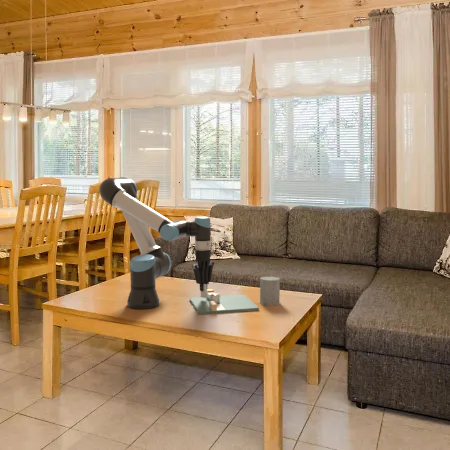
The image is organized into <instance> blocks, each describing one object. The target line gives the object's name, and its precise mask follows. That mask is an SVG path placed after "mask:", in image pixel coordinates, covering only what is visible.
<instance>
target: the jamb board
mask: <svg viewBox="0 0 450 450" xmlns="http://www.w3.org/2000/svg"><path fill="white" fill-rule="evenodd" d="M189 302H190V303H191V305H192V306H193V308H194V309H195V311H196V312H197V314H198V315H212V314H213V315H214V314H227V313H239V312H254V311H260V308H259V306H258V305H257V304H255V303H254V302H253V301H252V300H251V299H250V298H249V297H247V296H246V294H238V295H237V294H236V295H235V294H234V295H233V294H232V295H220V303H219V304H216V303H215V302H214V301H210V300H209V299H208V298H207V297H206V298H203V297H201V296H200V297H190V298H189Z"/></svg>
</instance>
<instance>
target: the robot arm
mask: <svg viewBox="0 0 450 450" xmlns="http://www.w3.org/2000/svg"><path fill="white" fill-rule="evenodd" d="M98 191H99V192H98V193H99V196H100V197H101V199H102V200H103V201H104V202H105V203H107V204H108V205H110V206H112V207H113V208H116V209H119V210H120V211H121V213H122V215H123V217H124V219H125V221H126V223H127V226H128V227H129V230H130V232H131V234H132V236H133V238H134V242H135V243H136V245H137V247H138V249H139V252H140V254H139V255H138V254H137V255H135V256H133V257H132V258H131V259H130V264H129V269H130V270H129V271H130V292H129V293H128V297H127V304H126V305H127V307H128V308H131V309H135V310H136V309H137V310H146V309H147V310H149V309H153V308H156V307H158V306H159V305H160V298H159V295H158V291H157V289H156V280H157V279H158V278H162V277H164V276H166V275H167V274H168V273H169V272H170V270H171V267H172V259H171V257H170V255H169V254H168V253H165V252H164V251H163V249H162V247H161V246H159V245H157V243H156V241H155V238H154V237H153V235H152V232H151V230H150V228H151V229H152V230H154V231H156V233H158V234H160V236H161V238H162V239H163V240H164V241H167V242H168V241H169V242H170V241H171V242H172V241H174V240H178V239H180V238H183V237H193V238H194V249H195V250H194V253H195V258H196V260H195V263H194V264H192V265H191V267H192V269H193V274H194V279H195V283H196V284H197V285H198V284H199V291H200V298H201V297H203V298H206V297H207V290H208V285H210V283H211V281H212V274H213V270H214V269H213V268H214V265H215V261H212V260H211V257H212V250H211V247H212V240H211V239H212V237H211V235H212V234H211V230H212V226H211V225H212V223H211V218H210V217H208V216H196V217H195V218H194V220H182V219H181V220H180V219H179V220H173V221H171V220H170V219H168V218H167V217H165V216H164V215H162V214H160V213H159V212H157V211H155V210H154V209H152V208H151V207H150V206H147V205H146V204H144V203H142V202H141V201H139V197H138V192H139V191H138V186H137V184H136V182H135V181H134V180H132V179H131V178H129V177H128V178H127V177H122V176H121V177H108V178H106V179H105V180H103V181H102V182H101V184H100V186H99V189H98Z"/></svg>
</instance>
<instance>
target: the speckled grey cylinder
mask: <svg viewBox="0 0 450 450" xmlns="http://www.w3.org/2000/svg"><path fill="white" fill-rule="evenodd" d="M280 281H281V279H280V277H279V276H274V275H266V276H265V275H263V276H260V278H259V282H260V284H259V304H260V305H262V306H267V307H268V306H270V307H272V306H278V305H280V297H281V295H280V290H281V289H280V287H281V283H280Z"/></svg>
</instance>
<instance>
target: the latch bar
mask: <svg viewBox="0 0 450 450" xmlns="http://www.w3.org/2000/svg"><path fill="white" fill-rule="evenodd" d="M220 296H221V295H220V293H217V292H215V290H214V289H212V288H207V298H208V299H209V300H210V301H214V302H215V303H216V304H219V303H220Z"/></svg>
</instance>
